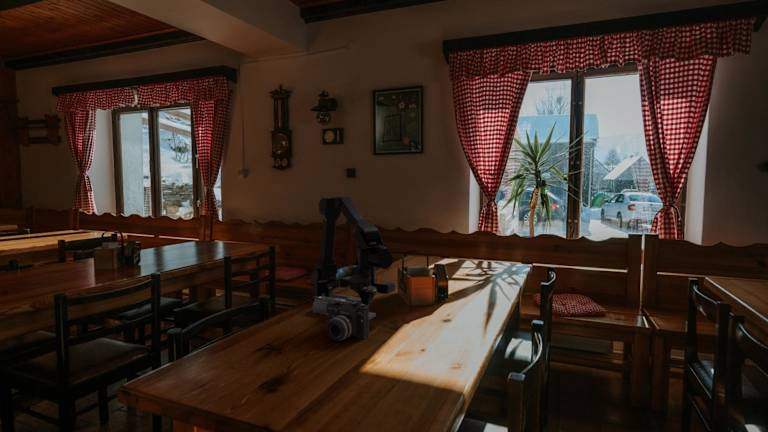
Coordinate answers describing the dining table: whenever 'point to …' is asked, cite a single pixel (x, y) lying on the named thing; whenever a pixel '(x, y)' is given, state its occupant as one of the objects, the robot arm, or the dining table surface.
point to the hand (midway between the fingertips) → (366, 309)
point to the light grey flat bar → (333, 299)
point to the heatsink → (324, 302)
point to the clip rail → (371, 315)
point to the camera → (347, 320)
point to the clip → (355, 300)
